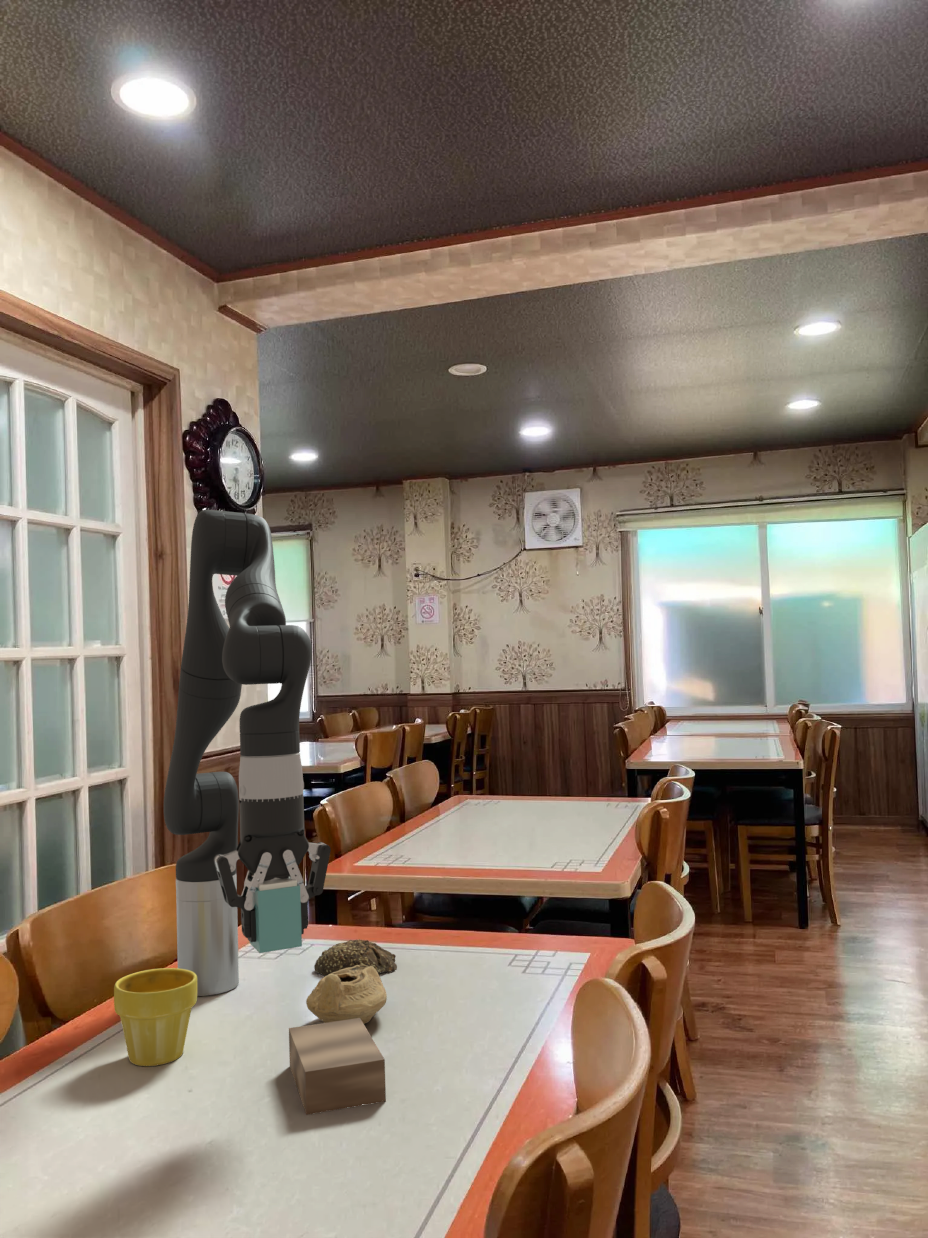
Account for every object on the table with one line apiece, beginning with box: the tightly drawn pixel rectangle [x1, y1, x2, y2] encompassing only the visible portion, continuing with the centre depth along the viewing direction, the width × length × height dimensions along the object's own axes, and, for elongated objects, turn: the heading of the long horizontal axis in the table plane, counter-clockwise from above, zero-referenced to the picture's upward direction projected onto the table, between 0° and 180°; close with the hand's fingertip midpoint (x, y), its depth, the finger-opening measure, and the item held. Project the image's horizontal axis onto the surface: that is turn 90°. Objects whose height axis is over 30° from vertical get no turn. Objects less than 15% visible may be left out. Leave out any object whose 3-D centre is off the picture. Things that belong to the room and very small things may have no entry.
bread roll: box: [313, 938, 398, 977], centre depth 161 cm, size 13×12×5 cm
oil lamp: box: [305, 965, 388, 1025], centre depth 138 cm, size 11×15×8 cm
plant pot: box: [113, 967, 198, 1067], centre depth 126 cm, size 10×10×10 cm
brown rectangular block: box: [288, 1018, 387, 1116], centre depth 116 cm, size 14×9×5 cm, turn 18°
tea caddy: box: [248, 876, 303, 954], centre depth 116 cm, size 5×5×8 cm
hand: (275, 936), depth 116 cm, fingers closed on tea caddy, 5 cm apart
